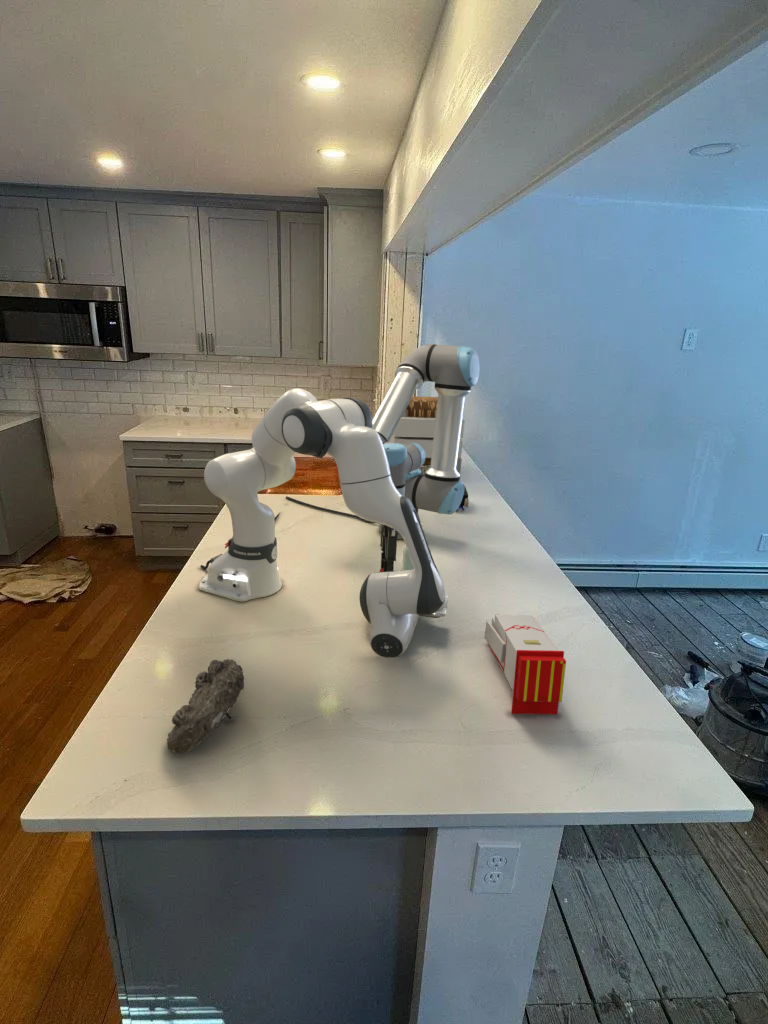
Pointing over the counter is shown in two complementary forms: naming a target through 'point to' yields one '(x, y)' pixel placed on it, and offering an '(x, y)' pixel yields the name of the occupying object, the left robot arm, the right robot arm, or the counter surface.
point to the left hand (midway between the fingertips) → (412, 585)
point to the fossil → (206, 705)
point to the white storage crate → (421, 427)
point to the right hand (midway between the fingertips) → (386, 576)
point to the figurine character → (464, 500)
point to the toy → (527, 663)
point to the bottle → (407, 561)
